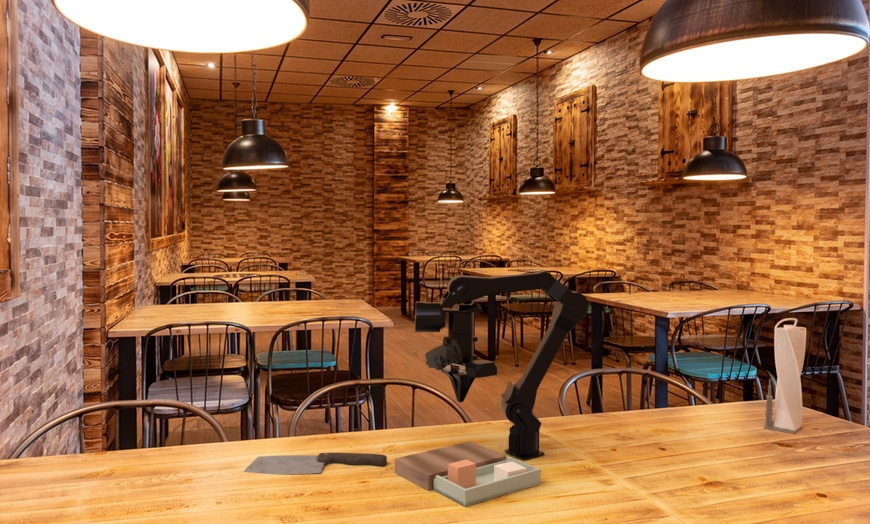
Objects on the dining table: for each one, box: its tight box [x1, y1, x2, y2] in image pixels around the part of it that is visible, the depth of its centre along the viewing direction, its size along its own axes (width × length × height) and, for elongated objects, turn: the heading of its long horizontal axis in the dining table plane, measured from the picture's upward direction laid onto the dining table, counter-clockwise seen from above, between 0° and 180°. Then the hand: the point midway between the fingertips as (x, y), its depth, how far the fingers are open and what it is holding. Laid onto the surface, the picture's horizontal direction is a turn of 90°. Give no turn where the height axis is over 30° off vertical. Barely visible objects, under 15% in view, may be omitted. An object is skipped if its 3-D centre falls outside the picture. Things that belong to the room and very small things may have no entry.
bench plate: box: [394, 441, 507, 492], centre depth 139 cm, size 20×12×3 cm, turn 126°
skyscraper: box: [763, 317, 807, 434], centre depth 170 cm, size 8×8×28 cm
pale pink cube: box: [494, 461, 526, 481], centre depth 131 cm, size 4×4×3 cm
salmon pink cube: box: [448, 460, 476, 489], centre depth 128 cm, size 4×4×3 cm
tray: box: [433, 456, 542, 508], centre depth 130 cm, size 19×10×3 cm, turn 126°
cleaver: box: [243, 452, 388, 476], centre depth 142 cm, size 30×10×2 cm, turn 91°
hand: (460, 402), depth 148 cm, fingers closed
